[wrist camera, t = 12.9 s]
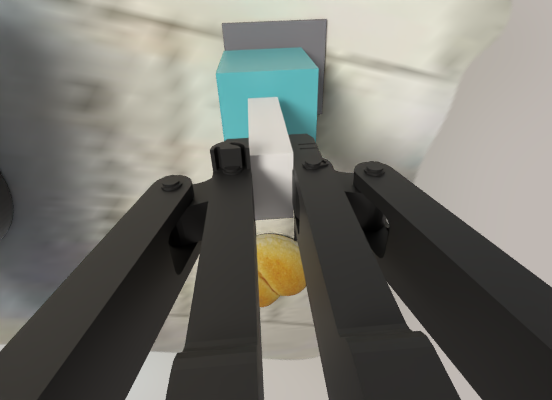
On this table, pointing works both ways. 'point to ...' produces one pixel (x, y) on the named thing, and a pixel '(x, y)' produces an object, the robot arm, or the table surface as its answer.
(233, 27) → the panel
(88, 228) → the table surface
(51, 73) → the table surface
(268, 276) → the bread roll
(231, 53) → the teal toy brick
